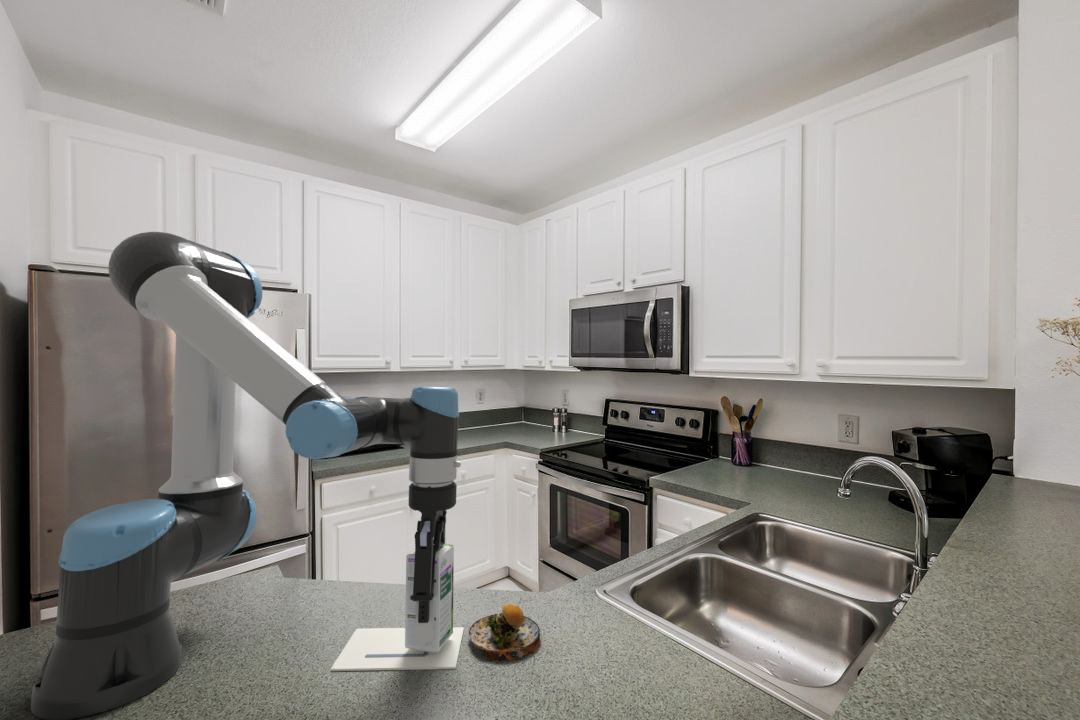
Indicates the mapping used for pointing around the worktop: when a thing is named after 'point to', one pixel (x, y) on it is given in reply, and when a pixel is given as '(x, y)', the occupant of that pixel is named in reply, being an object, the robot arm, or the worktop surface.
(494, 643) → the salad plate
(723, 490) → the worktop surface
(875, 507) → the worktop surface
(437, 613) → the syrup box
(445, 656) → the paper
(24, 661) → the worktop surface
